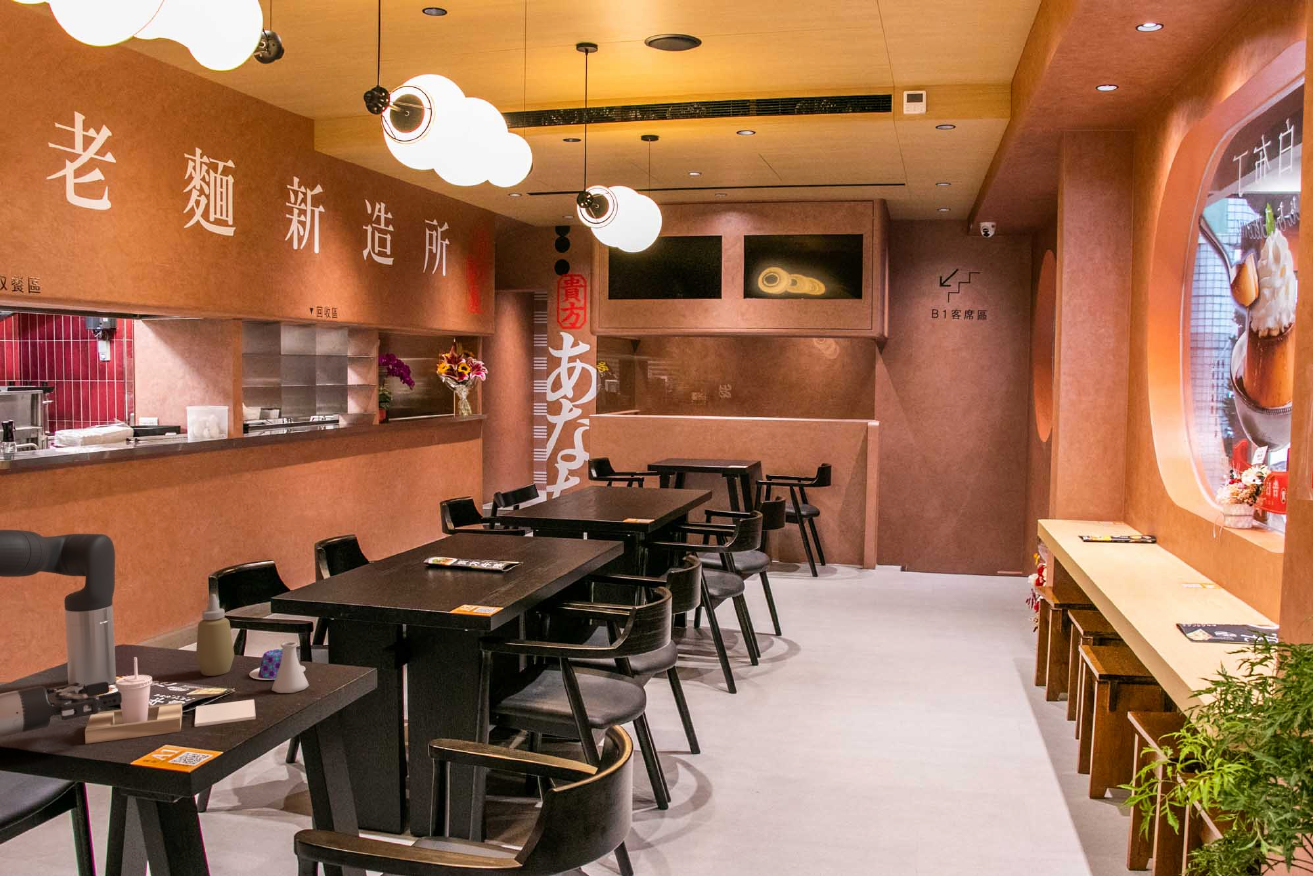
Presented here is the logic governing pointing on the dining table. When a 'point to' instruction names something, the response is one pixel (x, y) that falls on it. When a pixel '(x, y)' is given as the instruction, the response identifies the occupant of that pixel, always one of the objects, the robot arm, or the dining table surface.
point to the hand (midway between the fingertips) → (114, 692)
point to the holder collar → (134, 724)
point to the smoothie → (134, 696)
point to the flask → (289, 671)
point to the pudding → (269, 665)
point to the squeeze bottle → (214, 641)
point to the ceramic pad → (225, 713)
